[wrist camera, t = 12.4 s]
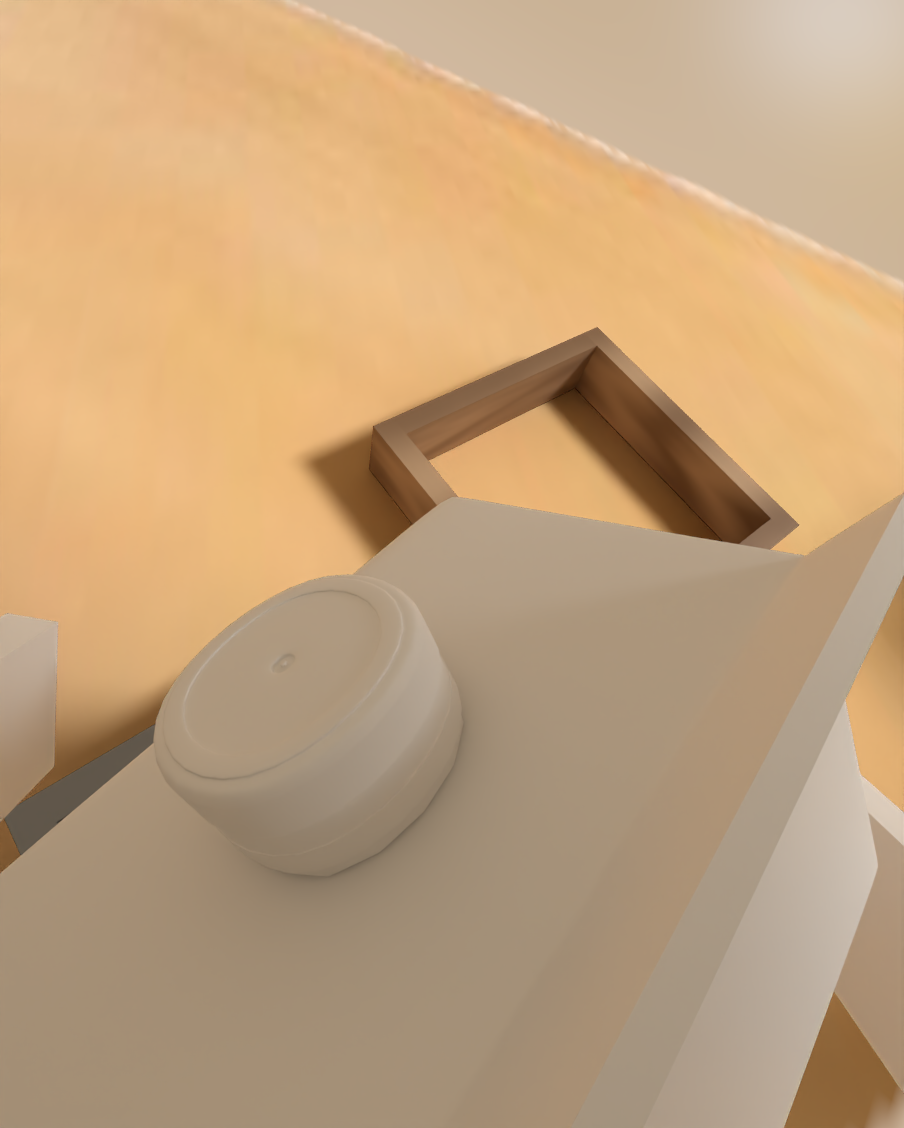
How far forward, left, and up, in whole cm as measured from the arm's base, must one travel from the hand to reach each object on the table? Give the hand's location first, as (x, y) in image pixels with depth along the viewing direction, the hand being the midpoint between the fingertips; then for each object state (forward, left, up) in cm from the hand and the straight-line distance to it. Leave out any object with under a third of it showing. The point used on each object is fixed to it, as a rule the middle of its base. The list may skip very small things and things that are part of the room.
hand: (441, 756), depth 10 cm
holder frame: (+6, -15, -12) cm, 20 cm away
